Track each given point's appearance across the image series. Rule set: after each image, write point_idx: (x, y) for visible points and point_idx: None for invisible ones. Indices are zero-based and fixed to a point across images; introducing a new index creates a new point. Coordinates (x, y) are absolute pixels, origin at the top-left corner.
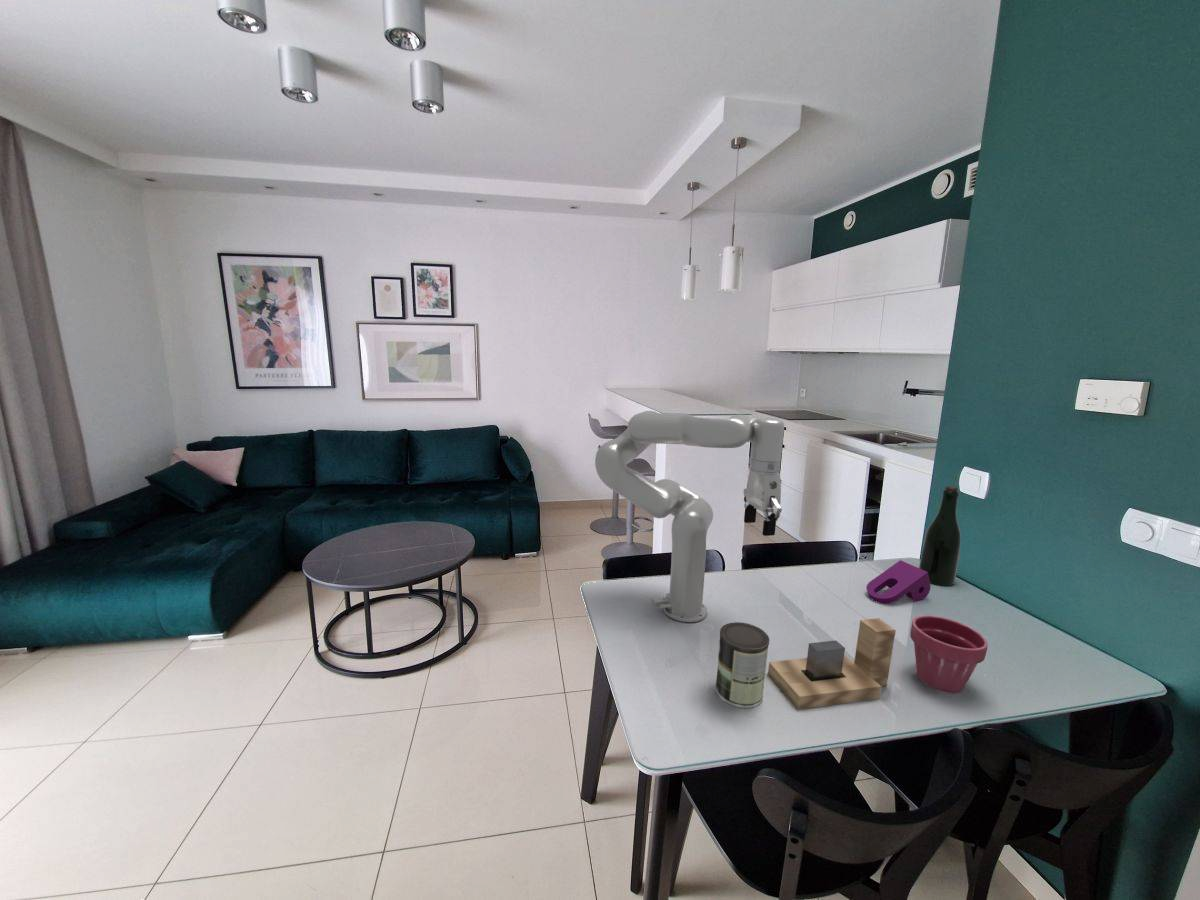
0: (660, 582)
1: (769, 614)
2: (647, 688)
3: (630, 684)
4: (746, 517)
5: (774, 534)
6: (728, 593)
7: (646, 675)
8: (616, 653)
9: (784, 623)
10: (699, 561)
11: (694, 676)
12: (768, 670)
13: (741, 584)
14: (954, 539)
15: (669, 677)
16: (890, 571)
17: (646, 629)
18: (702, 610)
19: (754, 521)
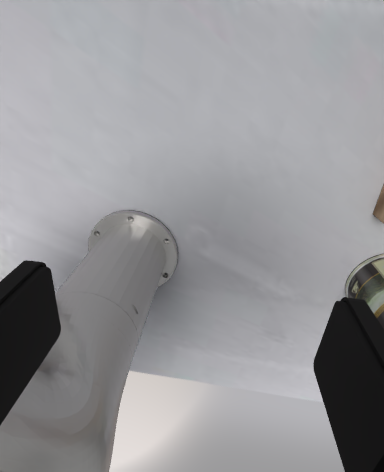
0: (10, 243)
1: (178, 58)
2: (314, 376)
3: (297, 388)
4: (36, 363)
5: (363, 300)
6: (60, 111)
7: (289, 368)
8: (229, 380)
9: (229, 44)
10: (130, 341)
11: (319, 320)
12: (376, 216)
13: (4, 35)
14: None
15: (305, 348)
16: None
17: (180, 329)
18: (148, 228)
19: (47, 275)
